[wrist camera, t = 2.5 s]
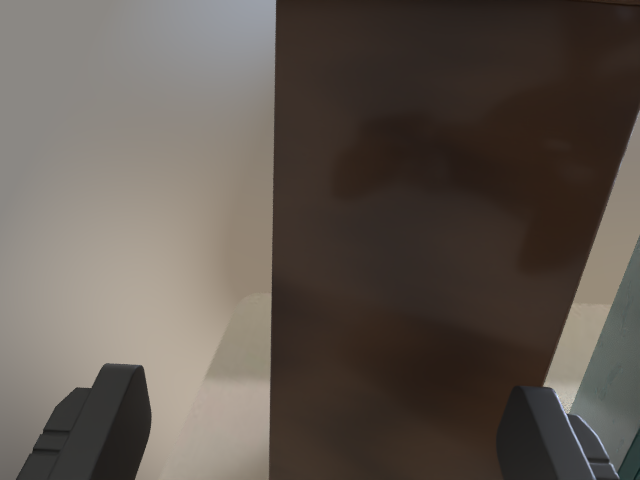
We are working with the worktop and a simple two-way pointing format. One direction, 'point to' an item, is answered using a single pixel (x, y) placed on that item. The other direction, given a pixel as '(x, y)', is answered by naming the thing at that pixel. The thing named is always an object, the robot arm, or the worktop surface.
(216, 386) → the worktop surface
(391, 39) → the pedestal
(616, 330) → the canister
